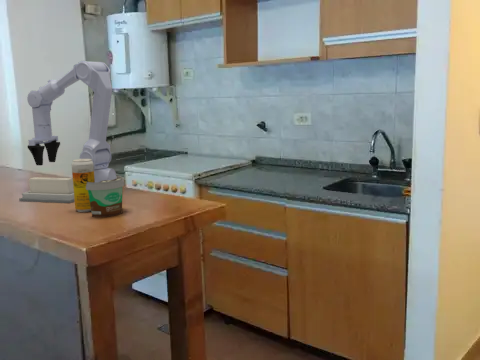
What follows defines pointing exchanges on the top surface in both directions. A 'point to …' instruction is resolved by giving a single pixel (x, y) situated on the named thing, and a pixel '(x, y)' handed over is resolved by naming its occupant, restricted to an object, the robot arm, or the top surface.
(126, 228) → the top surface
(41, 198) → the stepped grey tray
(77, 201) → the beer can
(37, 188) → the long cream rectangular block
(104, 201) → the food container
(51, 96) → the robot arm
